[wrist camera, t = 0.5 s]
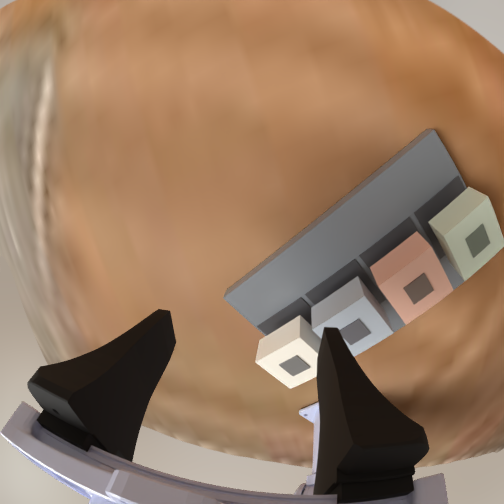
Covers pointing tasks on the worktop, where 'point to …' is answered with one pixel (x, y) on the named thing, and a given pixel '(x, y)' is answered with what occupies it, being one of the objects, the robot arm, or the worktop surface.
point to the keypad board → (354, 238)
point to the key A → (290, 352)
